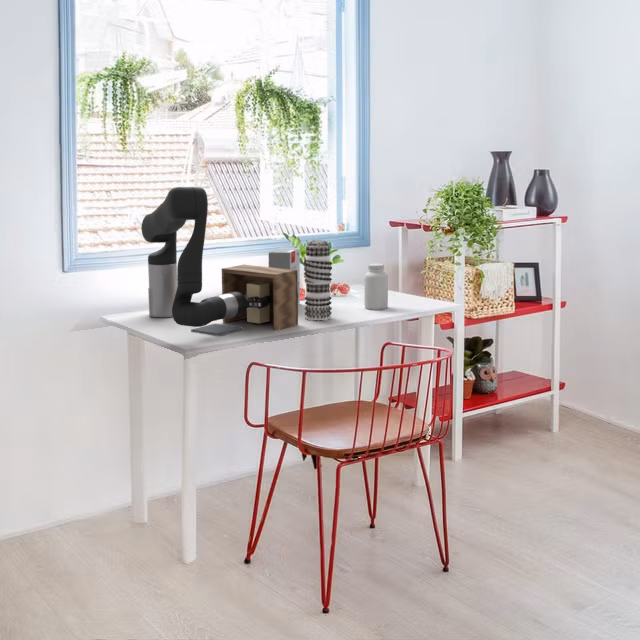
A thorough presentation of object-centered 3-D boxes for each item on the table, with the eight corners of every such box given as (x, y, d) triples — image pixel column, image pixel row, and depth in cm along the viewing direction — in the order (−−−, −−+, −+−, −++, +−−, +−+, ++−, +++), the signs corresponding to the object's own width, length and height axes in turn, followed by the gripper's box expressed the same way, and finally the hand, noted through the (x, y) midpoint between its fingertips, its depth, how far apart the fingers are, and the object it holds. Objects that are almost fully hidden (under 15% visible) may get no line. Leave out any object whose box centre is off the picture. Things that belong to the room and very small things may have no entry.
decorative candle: (299, 320, 306) (298, 242, 301) (310, 314, 315) (309, 239, 310) (326, 321, 303) (326, 243, 298) (336, 316, 311) (336, 240, 306)
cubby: (276, 330, 290) (275, 274, 287) (222, 322, 303) (221, 268, 299) (297, 324, 299) (297, 270, 296) (244, 317, 311) (243, 264, 308)
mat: (218, 335, 283) (218, 333, 283) (191, 331, 290) (191, 329, 289) (242, 329, 292) (242, 327, 292) (215, 325, 298) (215, 323, 298)
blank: (259, 323, 296) (259, 285, 294) (246, 321, 299) (246, 283, 297) (269, 320, 301) (269, 283, 298) (257, 319, 303) (256, 281, 301)
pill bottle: (361, 309, 324) (361, 265, 321) (368, 305, 331) (369, 262, 328) (383, 310, 321) (383, 266, 318) (390, 306, 328) (391, 263, 325)
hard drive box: (290, 312, 319) (289, 252, 315) (268, 311, 321) (267, 252, 317) (300, 303, 334) (300, 247, 330) (279, 303, 336) (278, 246, 332)
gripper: (246, 295, 282) (281, 288, 296) (209, 291, 291) (245, 284, 304) (246, 320, 284) (281, 312, 297) (210, 315, 292) (246, 307, 306)
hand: (263, 298), depth 301 cm, fingers closed on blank, 5 cm apart
